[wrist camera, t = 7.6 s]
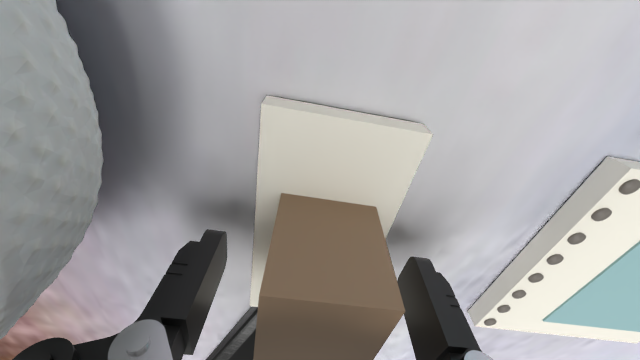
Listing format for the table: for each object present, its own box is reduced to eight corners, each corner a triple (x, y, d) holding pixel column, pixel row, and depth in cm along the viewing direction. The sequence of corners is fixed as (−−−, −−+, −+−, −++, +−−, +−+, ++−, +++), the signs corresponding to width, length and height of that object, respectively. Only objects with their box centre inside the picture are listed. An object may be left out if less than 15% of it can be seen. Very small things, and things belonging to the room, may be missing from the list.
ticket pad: (467, 311, 17) (475, 327, 16) (607, 156, 11) (634, 169, 10) (622, 328, 18) (638, 344, 18) (832, 197, 12) (876, 213, 11)
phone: (196, 377, 22) (276, 287, 15) (201, 362, 23) (279, 270, 16) (279, 396, 24) (383, 325, 17) (281, 381, 25) (380, 309, 18)
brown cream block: (253, 290, 16) (225, 405, 11) (266, 95, 9) (213, 178, 5) (348, 300, 16) (359, 414, 12) (423, 123, 10) (513, 223, 5)
